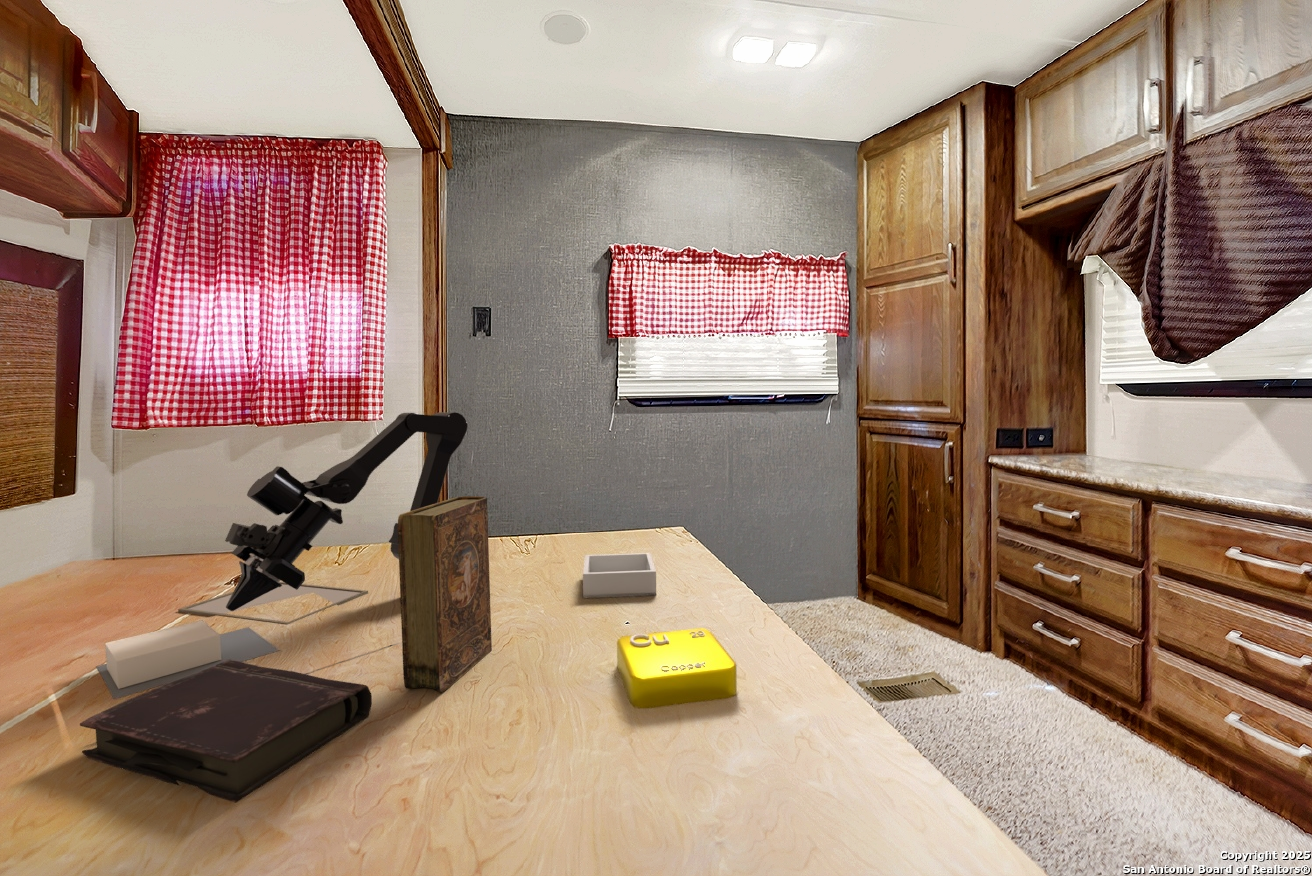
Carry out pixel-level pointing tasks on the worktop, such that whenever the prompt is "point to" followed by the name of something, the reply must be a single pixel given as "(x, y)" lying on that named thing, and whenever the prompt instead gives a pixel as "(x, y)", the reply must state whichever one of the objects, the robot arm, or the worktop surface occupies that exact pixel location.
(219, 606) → the picture frame
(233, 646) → the mat
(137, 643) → the white rectangular block
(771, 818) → the worktop surface
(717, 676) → the element tile
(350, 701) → the diary
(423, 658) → the book
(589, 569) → the dish
